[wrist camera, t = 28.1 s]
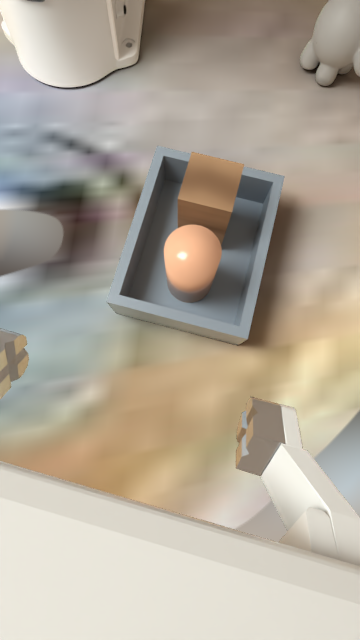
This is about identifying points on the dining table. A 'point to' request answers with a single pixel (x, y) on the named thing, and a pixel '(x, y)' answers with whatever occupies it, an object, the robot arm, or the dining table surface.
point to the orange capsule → (191, 262)
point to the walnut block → (208, 193)
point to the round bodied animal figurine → (334, 41)
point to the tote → (233, 270)
